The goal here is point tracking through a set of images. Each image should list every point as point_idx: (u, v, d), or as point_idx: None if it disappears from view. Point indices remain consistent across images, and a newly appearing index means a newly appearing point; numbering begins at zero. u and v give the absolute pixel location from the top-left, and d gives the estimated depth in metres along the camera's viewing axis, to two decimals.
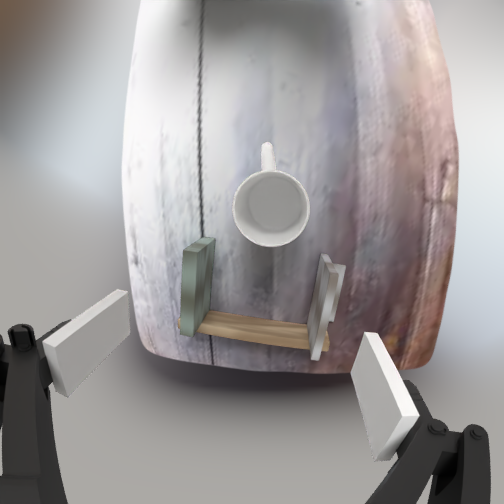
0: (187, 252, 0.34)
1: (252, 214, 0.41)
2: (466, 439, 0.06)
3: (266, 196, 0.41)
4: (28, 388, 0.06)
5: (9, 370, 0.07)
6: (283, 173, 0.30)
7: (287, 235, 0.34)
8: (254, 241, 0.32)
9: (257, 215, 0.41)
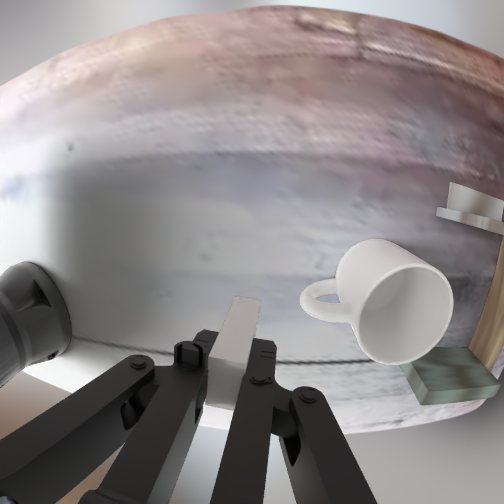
0: (424, 401, 0.22)
1: (382, 304, 0.29)
2: (297, 405, 0.09)
3: None
4: (177, 412, 0.08)
5: (160, 386, 0.09)
6: (364, 302, 0.19)
7: (431, 280, 0.21)
8: (440, 336, 0.19)
9: (384, 298, 0.29)
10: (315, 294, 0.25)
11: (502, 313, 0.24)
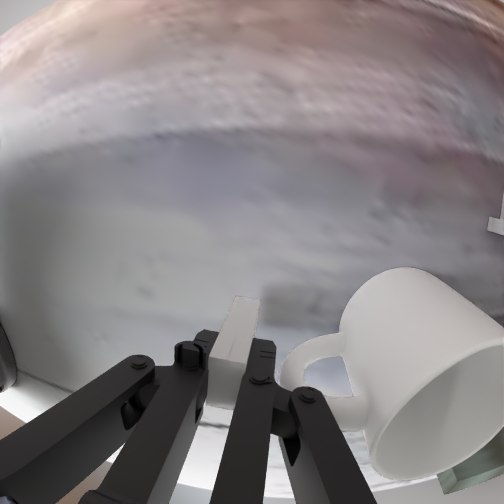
0: (449, 490, 0.11)
1: None
2: (297, 405, 0.09)
3: None
4: (177, 412, 0.08)
5: (161, 386, 0.09)
6: (392, 415, 0.08)
7: None
8: (496, 432, 0.08)
9: None
10: (305, 365, 0.15)
11: None
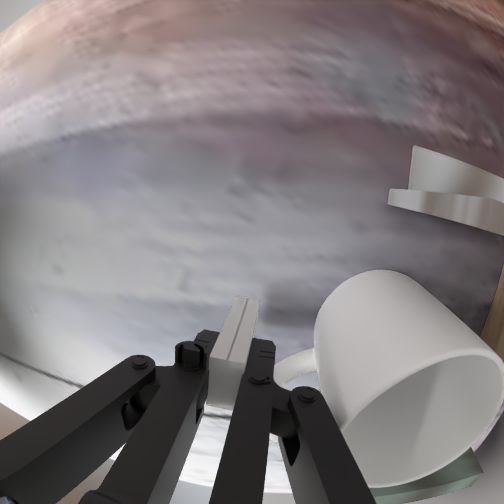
0: None
1: None
2: (296, 405, 0.09)
3: None
4: (178, 413, 0.08)
5: (161, 386, 0.09)
6: None
7: None
8: (484, 430, 0.08)
9: None
10: None
11: None
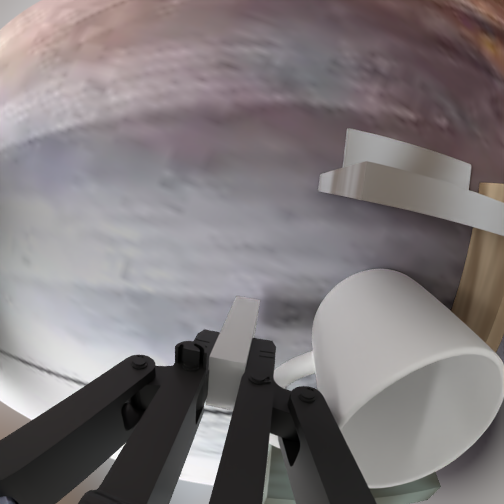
0: None
1: None
2: (296, 405, 0.09)
3: None
4: (178, 413, 0.08)
5: (161, 386, 0.09)
6: None
7: None
8: (486, 426, 0.08)
9: None
10: None
11: None
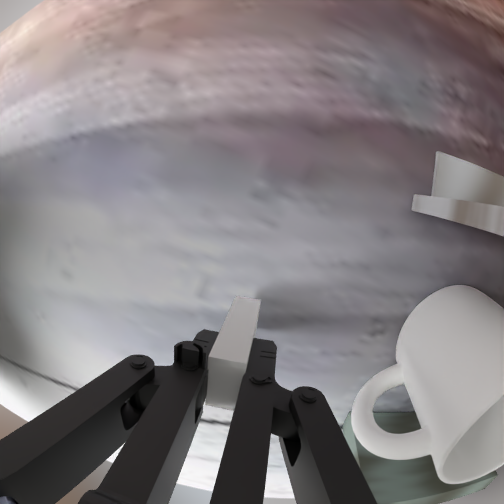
0: None
1: None
2: (297, 405, 0.09)
3: None
4: (177, 412, 0.08)
5: (160, 386, 0.09)
6: (451, 447, 0.08)
7: None
8: None
9: None
10: (373, 404, 0.14)
11: None
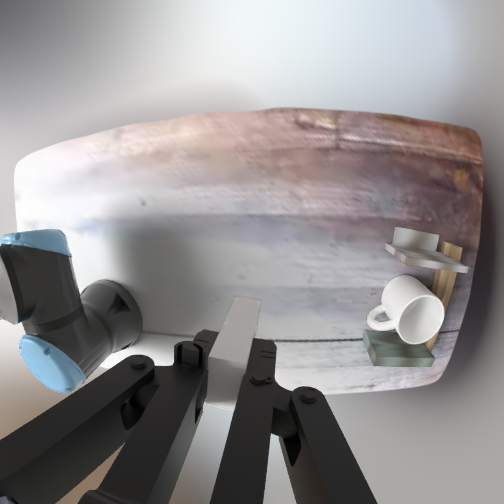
0: (375, 362, 0.41)
1: (410, 309, 0.47)
2: (297, 405, 0.09)
3: None
4: (177, 412, 0.08)
5: (161, 386, 0.09)
6: (399, 319, 0.38)
7: None
8: (441, 323, 0.37)
9: (410, 305, 0.47)
10: (374, 317, 0.44)
11: None
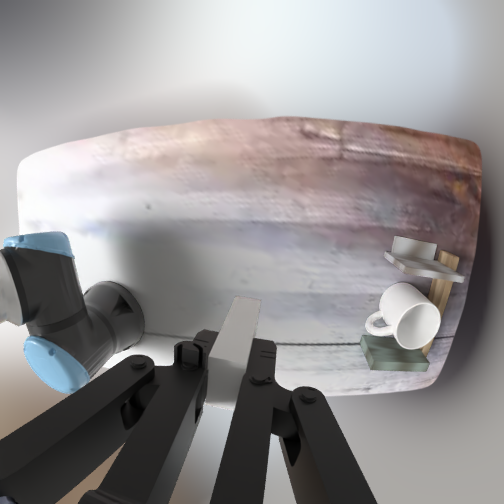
0: (372, 367, 0.42)
1: (406, 315, 0.49)
2: (297, 405, 0.09)
3: None
4: (177, 412, 0.08)
5: (160, 386, 0.09)
6: (397, 325, 0.39)
7: None
8: (437, 330, 0.39)
9: (407, 311, 0.49)
10: (372, 322, 0.46)
11: None
